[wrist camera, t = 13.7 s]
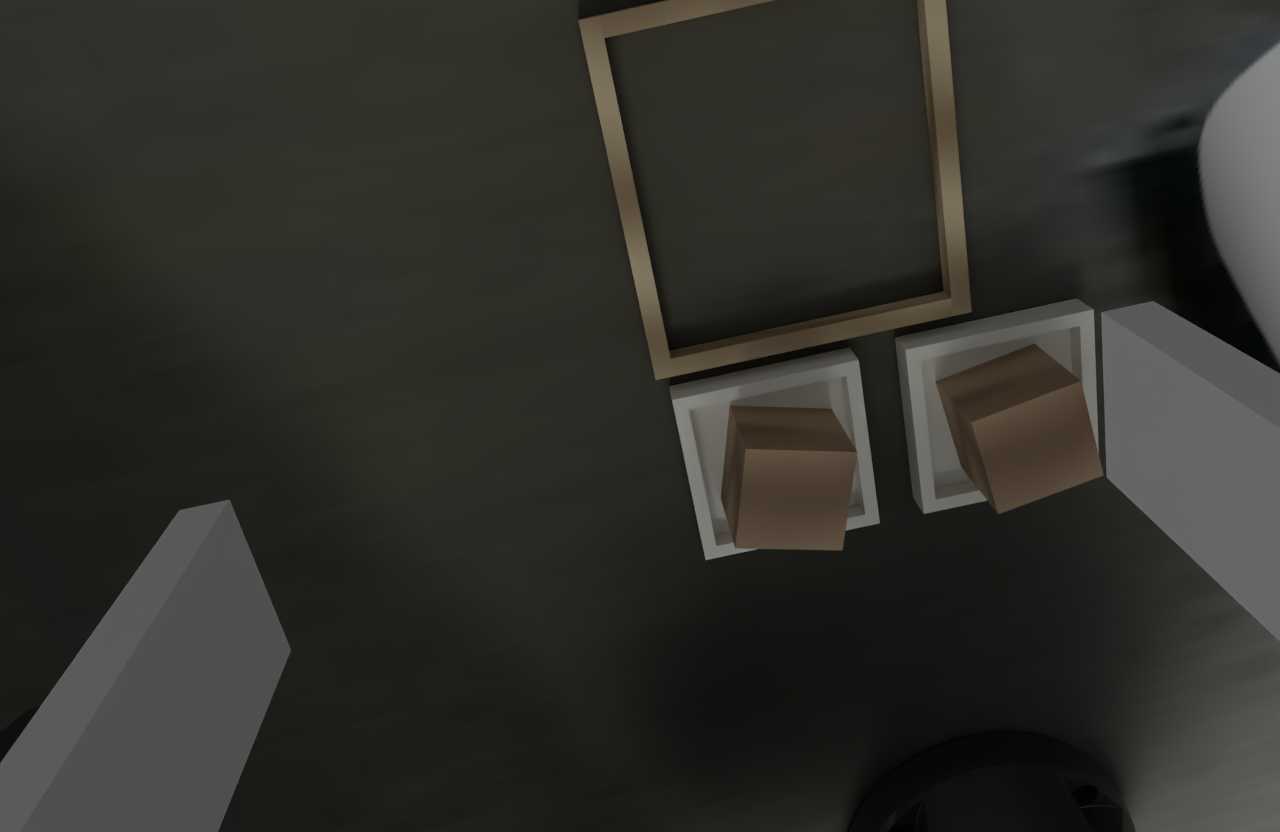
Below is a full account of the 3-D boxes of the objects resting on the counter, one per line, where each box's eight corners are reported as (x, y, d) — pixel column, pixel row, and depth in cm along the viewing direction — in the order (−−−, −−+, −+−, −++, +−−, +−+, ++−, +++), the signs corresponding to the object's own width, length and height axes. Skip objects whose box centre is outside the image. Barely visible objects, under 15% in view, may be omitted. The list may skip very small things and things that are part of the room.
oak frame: (963, 305, 46) (971, 311, 45) (653, 371, 46) (655, 380, 45) (931, -60, 40) (940, -61, 39) (578, 19, 40) (578, 20, 39)
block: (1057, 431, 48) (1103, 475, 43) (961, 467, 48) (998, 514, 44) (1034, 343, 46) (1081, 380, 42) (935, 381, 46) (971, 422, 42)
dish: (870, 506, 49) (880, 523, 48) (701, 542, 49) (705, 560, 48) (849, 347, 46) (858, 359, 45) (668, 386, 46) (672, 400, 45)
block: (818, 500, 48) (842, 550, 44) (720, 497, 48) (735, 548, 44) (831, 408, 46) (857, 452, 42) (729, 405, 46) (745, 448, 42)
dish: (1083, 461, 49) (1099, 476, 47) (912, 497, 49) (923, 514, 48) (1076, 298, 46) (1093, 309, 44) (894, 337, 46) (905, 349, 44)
